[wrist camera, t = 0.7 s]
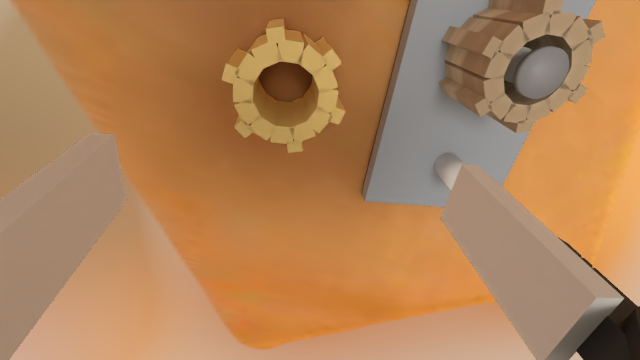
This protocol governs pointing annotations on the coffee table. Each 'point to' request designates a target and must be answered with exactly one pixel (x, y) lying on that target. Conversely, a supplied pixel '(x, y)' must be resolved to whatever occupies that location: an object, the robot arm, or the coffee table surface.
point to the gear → (502, 44)
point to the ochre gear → (280, 116)
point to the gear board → (448, 110)
